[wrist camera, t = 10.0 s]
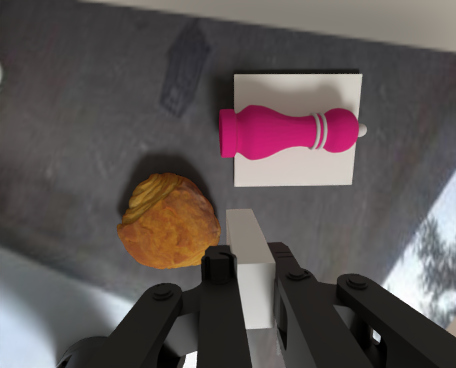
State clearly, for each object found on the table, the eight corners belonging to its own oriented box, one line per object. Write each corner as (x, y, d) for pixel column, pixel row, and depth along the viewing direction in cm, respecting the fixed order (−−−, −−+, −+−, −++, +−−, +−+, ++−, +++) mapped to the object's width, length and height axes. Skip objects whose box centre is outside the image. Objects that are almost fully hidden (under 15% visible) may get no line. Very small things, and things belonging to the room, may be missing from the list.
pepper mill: (219, 158, 42) (350, 154, 43) (223, 164, 34) (379, 158, 36) (218, 107, 40) (353, 105, 42) (221, 102, 33) (384, 100, 35)
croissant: (190, 156, 45) (182, 156, 37) (234, 242, 46) (235, 260, 38) (110, 197, 46) (85, 205, 38) (155, 280, 47) (140, 306, 39)
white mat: (234, 185, 44) (234, 186, 43) (234, 75, 40) (234, 74, 39) (349, 183, 44) (351, 184, 44) (359, 74, 41) (362, 74, 40)
